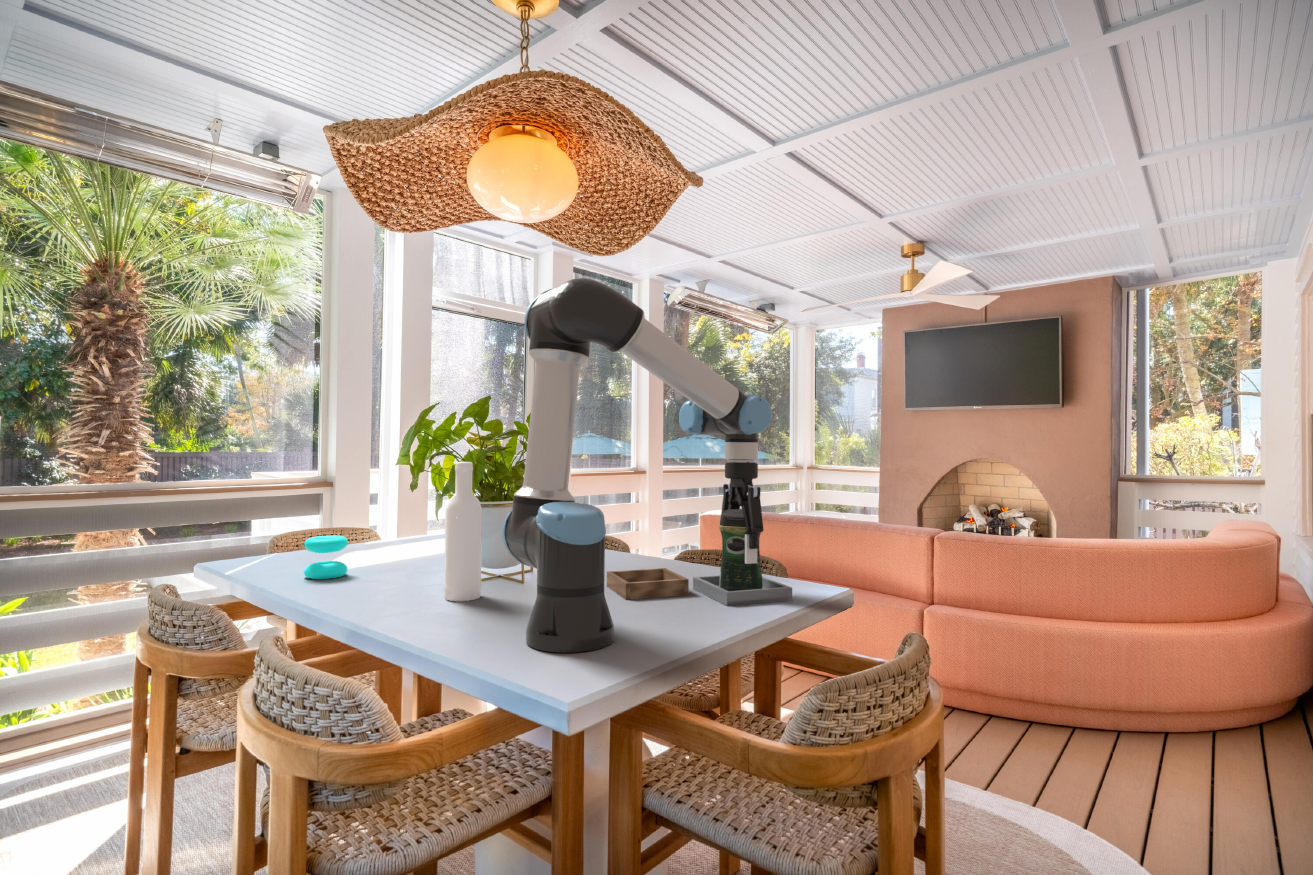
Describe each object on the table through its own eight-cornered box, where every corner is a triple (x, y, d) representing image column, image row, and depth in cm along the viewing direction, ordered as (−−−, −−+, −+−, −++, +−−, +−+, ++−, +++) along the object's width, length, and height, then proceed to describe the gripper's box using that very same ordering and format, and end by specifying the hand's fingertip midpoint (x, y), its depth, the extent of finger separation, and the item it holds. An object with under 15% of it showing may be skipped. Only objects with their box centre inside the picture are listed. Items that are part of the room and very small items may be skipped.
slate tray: (726, 605, 143) (726, 592, 143) (693, 588, 160) (693, 576, 160) (792, 600, 148) (792, 587, 148) (752, 584, 165) (753, 572, 165)
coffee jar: (765, 588, 156) (766, 508, 156) (757, 595, 149) (757, 511, 149) (725, 585, 160) (725, 506, 160) (715, 591, 152) (715, 509, 152)
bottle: (474, 592, 155) (476, 461, 155) (486, 598, 148) (487, 462, 148) (439, 596, 150) (440, 461, 151) (449, 603, 144) (451, 462, 144)
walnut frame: (625, 599, 148) (625, 583, 148) (606, 586, 162) (606, 571, 162) (688, 594, 153) (688, 579, 153) (664, 582, 167) (664, 567, 167)
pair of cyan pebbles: (302, 536, 174) (345, 533, 179) (302, 575, 174) (344, 571, 179) (306, 541, 165) (350, 538, 171) (305, 581, 165) (350, 577, 171)
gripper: (780, 462, 145) (779, 566, 145) (734, 460, 166) (733, 551, 166) (749, 462, 143) (748, 568, 143) (706, 460, 163) (705, 553, 163)
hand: (740, 559), depth 154 cm, fingers closed on coffee jar, 9 cm apart
